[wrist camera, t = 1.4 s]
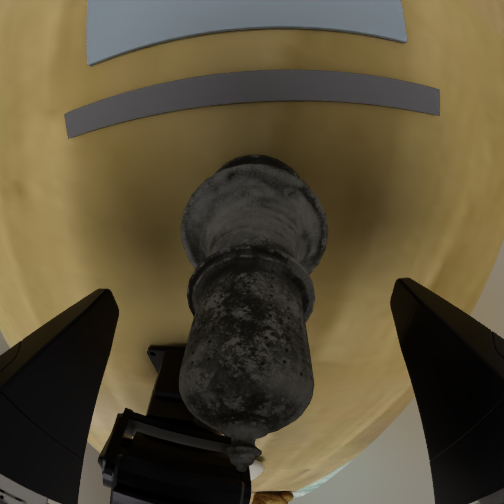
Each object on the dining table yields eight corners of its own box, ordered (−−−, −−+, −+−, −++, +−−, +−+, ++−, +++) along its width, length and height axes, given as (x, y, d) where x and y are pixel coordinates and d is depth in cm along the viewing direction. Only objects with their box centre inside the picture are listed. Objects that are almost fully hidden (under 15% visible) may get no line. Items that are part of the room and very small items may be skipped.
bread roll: (294, 489, 57) (294, 511, 50) (292, 493, 62) (292, 512, 55) (251, 490, 58) (250, 512, 51) (253, 494, 63) (252, 513, 56)
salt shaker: (324, 160, 12) (491, 379, 2) (299, 262, 15) (334, 488, 5) (203, 141, 12) (5, 331, 2) (195, 247, 15) (122, 468, 5)
